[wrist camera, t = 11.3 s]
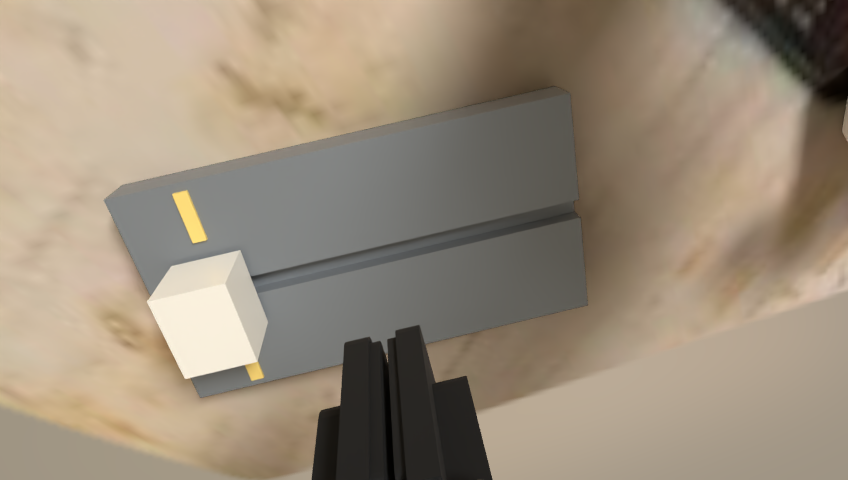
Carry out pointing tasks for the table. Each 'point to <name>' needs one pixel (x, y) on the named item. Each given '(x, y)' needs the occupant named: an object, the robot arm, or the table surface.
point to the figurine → (845, 123)
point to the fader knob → (210, 314)
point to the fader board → (380, 230)
